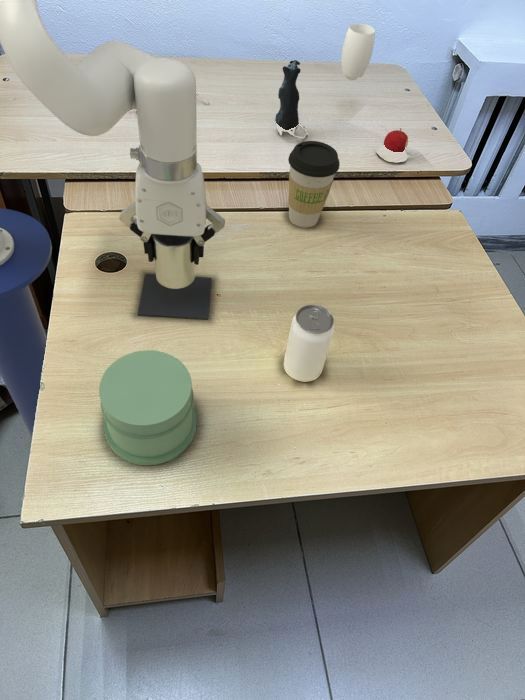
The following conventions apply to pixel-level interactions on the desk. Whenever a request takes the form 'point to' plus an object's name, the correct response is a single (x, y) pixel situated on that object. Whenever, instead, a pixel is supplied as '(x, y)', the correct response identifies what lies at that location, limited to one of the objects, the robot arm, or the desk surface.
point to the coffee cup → (310, 180)
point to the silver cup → (174, 260)
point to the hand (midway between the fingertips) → (174, 256)
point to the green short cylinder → (148, 407)
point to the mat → (175, 299)
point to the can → (308, 342)
